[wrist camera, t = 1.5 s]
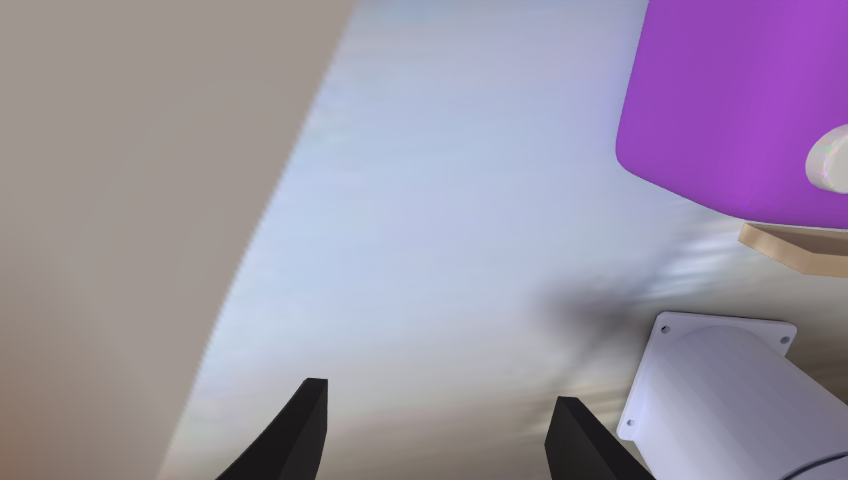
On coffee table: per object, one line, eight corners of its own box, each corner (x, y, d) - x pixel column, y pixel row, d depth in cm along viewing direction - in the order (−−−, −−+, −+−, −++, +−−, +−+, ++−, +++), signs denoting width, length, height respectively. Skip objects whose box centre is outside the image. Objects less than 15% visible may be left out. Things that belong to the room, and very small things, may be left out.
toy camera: (904, -182, 15) (1656, -602, 6) (819, 172, 20) (1154, 248, 11) (615, -138, 16) (885, -456, 6) (601, 196, 21) (742, 288, 11)
